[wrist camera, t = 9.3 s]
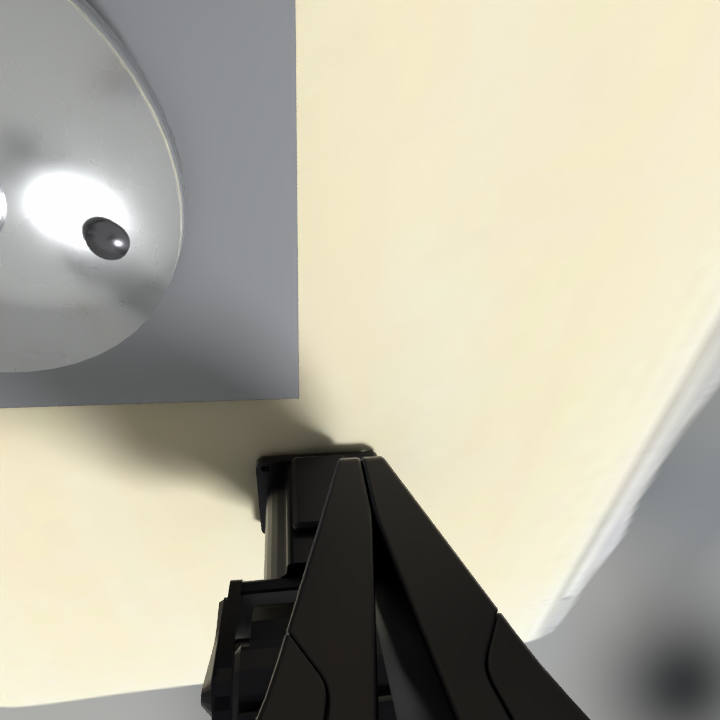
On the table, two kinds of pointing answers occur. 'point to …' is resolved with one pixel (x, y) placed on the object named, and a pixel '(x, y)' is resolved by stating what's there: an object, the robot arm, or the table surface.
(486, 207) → the table surface
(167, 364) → the base board
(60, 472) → the table surface
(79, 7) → the flange plate
